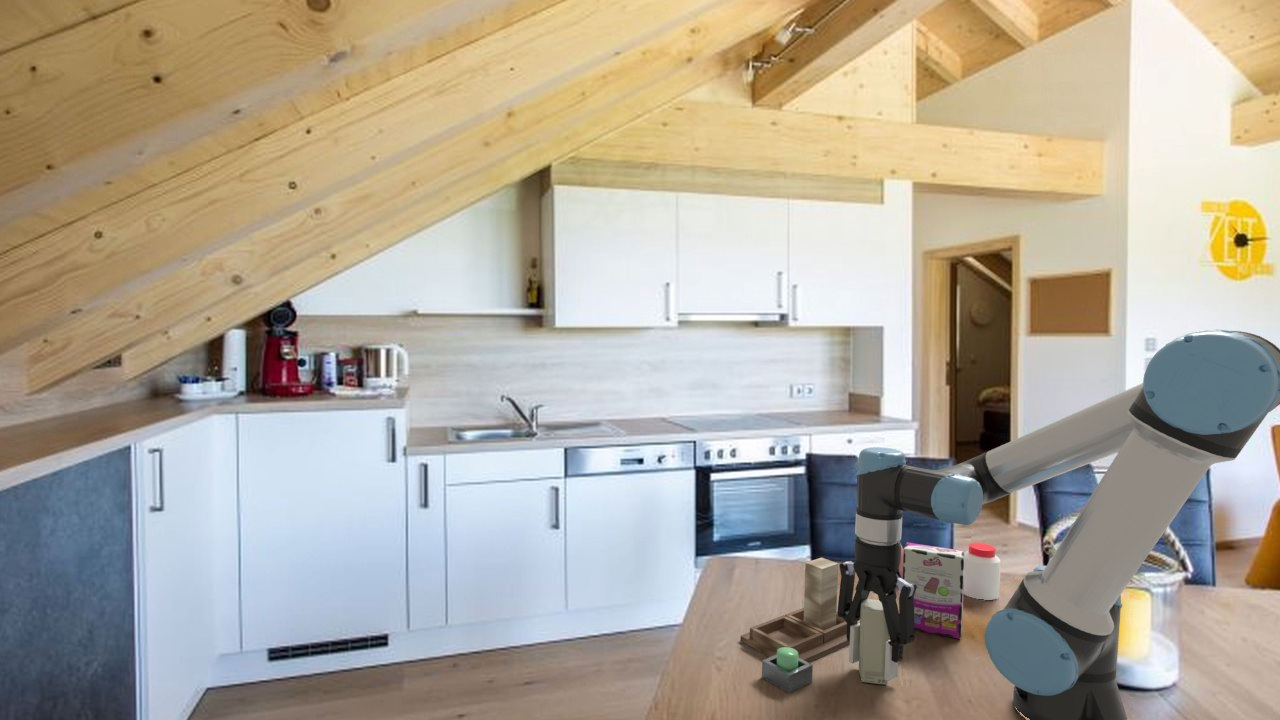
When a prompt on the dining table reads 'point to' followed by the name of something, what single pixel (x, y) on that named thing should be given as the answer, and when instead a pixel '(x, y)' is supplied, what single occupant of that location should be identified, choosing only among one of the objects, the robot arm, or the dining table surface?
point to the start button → (787, 658)
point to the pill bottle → (981, 572)
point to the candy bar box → (936, 588)
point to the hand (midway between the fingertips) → (872, 668)
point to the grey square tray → (787, 674)
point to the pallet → (797, 636)
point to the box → (872, 642)
